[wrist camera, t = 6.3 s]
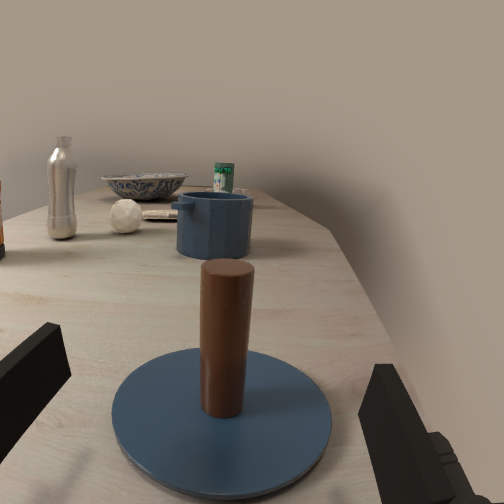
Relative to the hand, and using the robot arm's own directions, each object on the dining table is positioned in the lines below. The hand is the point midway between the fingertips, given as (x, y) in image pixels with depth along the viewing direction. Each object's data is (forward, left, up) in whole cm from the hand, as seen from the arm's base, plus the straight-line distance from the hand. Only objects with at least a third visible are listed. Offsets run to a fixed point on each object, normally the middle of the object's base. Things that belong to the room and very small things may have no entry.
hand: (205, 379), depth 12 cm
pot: (+28, -34, -7) cm, 45 cm away
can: (+60, -76, -7) cm, 98 cm away
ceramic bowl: (+92, -68, -7) cm, 115 cm away
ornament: (+49, -30, -7) cm, 58 cm away
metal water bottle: (+54, -17, -7) cm, 58 cm away
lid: (+2, -4, -6) cm, 8 cm away
